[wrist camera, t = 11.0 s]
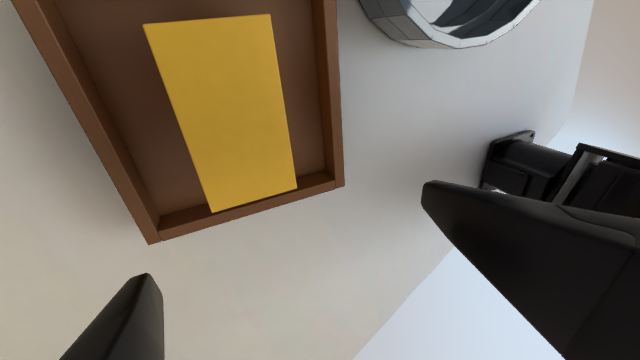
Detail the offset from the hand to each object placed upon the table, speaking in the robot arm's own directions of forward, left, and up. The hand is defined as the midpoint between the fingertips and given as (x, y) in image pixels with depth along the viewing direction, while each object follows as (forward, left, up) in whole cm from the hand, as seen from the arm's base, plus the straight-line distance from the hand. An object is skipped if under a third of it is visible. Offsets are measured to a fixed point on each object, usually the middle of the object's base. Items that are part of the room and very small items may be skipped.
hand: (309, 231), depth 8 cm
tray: (+1, -2, -12) cm, 12 cm away
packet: (+1, -2, -11) cm, 11 cm away
